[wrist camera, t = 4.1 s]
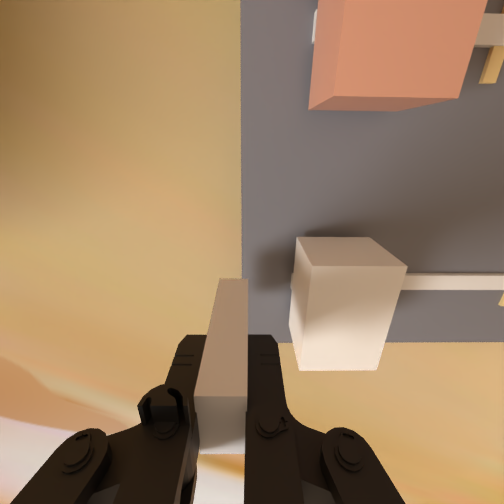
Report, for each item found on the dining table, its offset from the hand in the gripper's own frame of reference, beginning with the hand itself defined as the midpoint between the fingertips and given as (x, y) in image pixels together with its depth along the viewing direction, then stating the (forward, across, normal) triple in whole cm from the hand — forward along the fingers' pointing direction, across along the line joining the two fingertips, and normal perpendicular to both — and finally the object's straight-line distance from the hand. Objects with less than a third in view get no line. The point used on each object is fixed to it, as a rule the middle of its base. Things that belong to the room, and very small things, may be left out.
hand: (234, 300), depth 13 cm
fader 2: (+2, +5, 0) cm, 6 cm away
